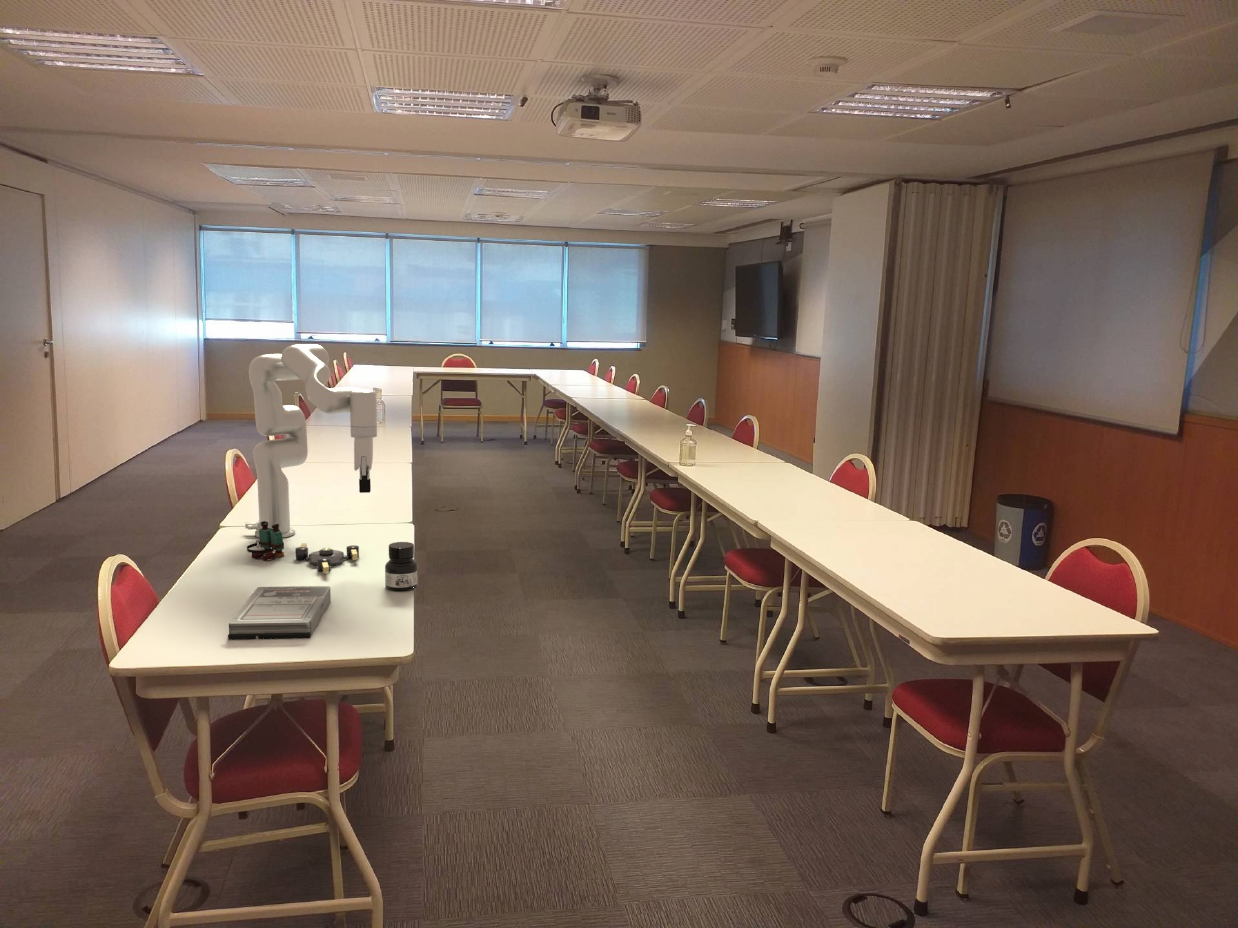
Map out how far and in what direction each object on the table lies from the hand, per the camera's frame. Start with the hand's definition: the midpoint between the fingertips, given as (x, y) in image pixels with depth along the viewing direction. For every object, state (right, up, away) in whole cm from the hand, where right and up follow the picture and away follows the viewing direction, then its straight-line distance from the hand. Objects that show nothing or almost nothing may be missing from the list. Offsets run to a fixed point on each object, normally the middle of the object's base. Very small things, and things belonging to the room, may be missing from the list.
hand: (365, 491), depth 269 cm
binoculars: (-31, -20, +3) cm, 37 cm away
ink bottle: (+16, -26, -21) cm, 37 cm away
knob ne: (-4, -21, +3) cm, 21 cm away
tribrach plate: (-12, -21, 0) cm, 24 cm away
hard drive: (-7, -31, -48) cm, 57 cm away
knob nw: (-20, -20, +5) cm, 29 cm away
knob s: (-9, -23, -10) cm, 27 cm away
